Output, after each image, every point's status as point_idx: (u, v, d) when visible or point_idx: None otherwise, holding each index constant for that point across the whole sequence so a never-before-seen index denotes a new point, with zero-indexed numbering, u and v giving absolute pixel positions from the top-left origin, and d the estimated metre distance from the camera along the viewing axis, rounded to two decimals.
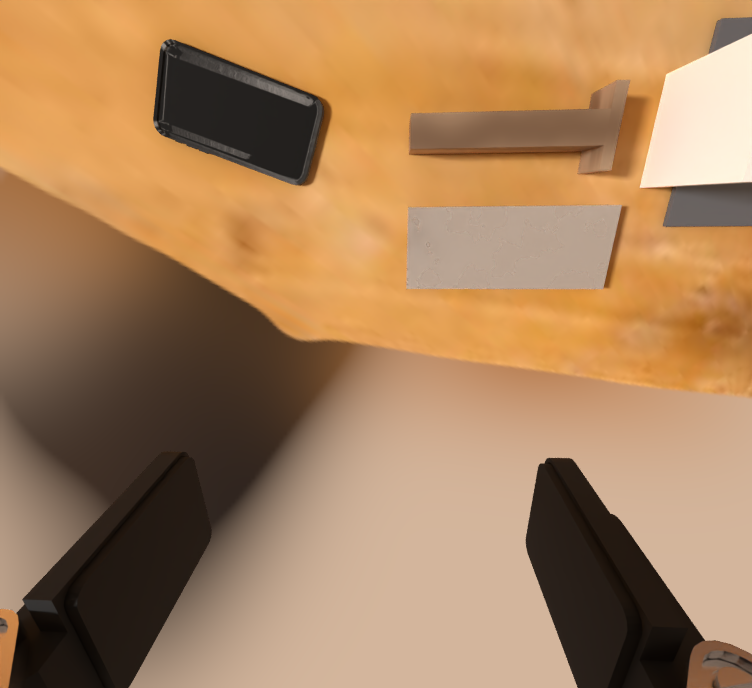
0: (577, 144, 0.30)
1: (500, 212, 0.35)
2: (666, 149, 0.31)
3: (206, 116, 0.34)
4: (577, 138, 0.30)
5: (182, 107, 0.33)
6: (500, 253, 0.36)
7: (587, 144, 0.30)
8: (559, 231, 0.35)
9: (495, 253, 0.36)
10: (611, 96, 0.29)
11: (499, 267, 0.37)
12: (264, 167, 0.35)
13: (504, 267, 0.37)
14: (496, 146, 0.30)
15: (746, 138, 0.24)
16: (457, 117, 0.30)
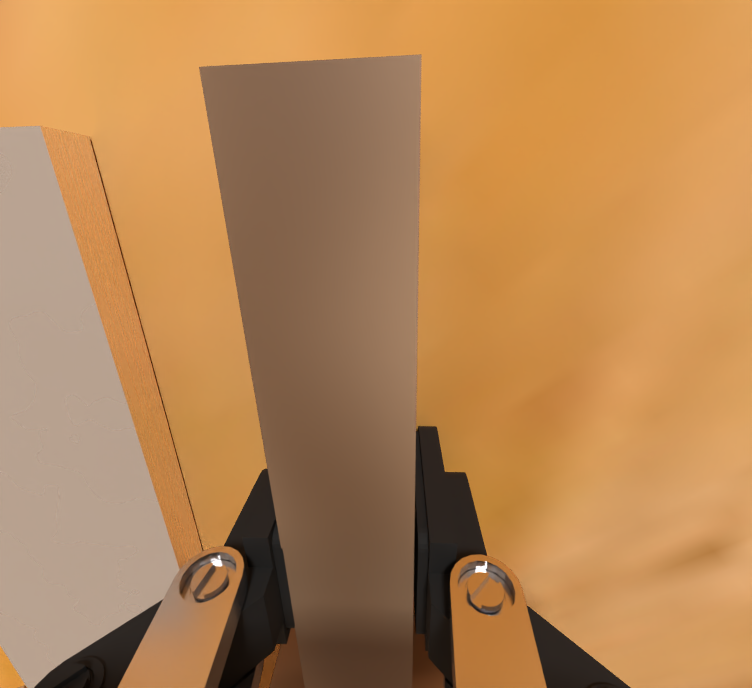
0: None
1: (133, 484, 0.10)
2: None
3: None
4: None
5: None
6: (12, 494, 0.11)
7: None
8: (129, 616, 0.12)
9: (6, 480, 0.10)
10: None
11: None
12: None
13: None
14: (280, 525, 0.07)
15: None
16: (392, 362, 0.06)
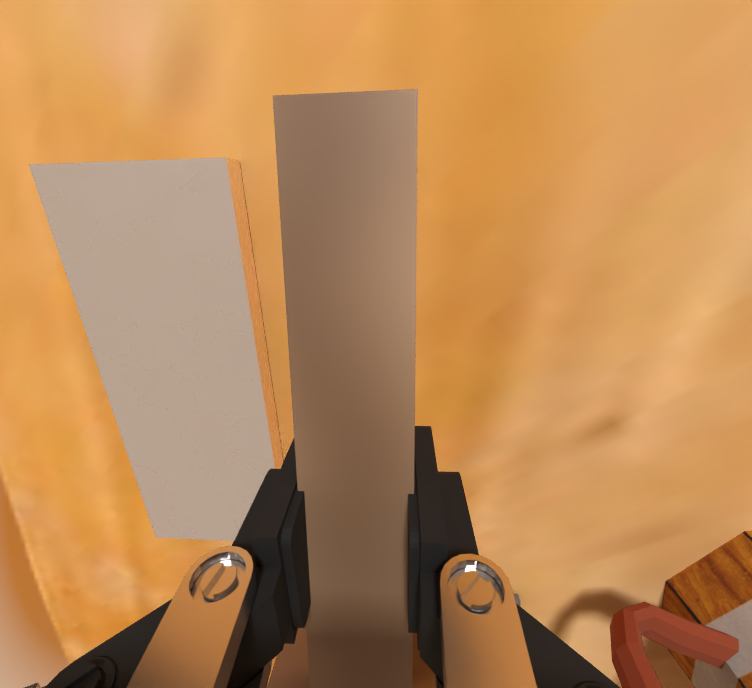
0: None
1: (247, 370, 0.17)
2: None
3: None
4: None
5: None
6: (170, 377, 0.17)
7: None
8: (232, 469, 0.19)
9: (168, 368, 0.17)
10: None
11: (144, 378, 0.17)
12: None
13: (146, 386, 0.18)
14: (298, 461, 0.08)
15: None
16: (397, 306, 0.07)
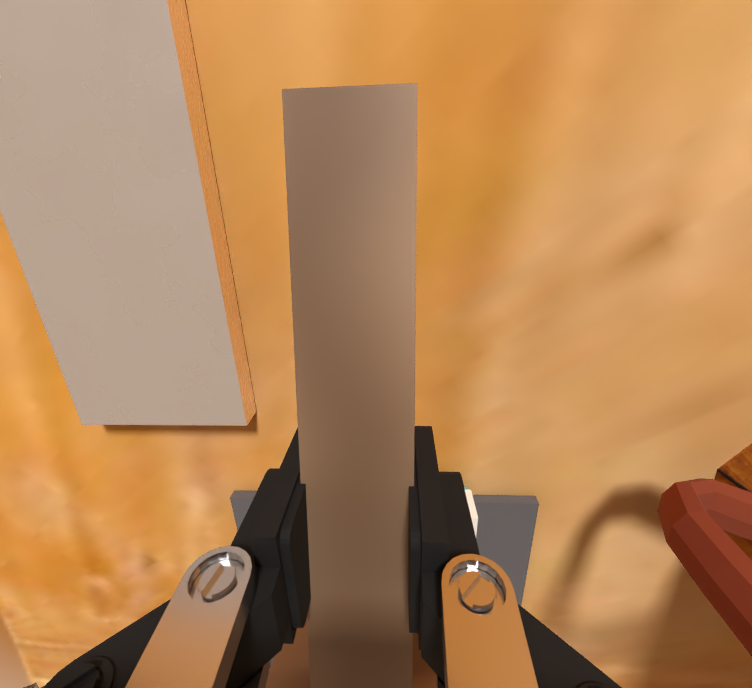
0: (314, 685, 0.09)
1: (179, 154, 0.13)
2: None
3: None
4: (330, 684, 0.09)
5: None
6: (78, 172, 0.13)
7: None
8: (170, 315, 0.15)
9: (74, 157, 0.13)
10: None
11: (43, 175, 0.13)
12: None
13: (47, 189, 0.13)
14: (301, 441, 0.08)
15: None
16: (397, 288, 0.07)
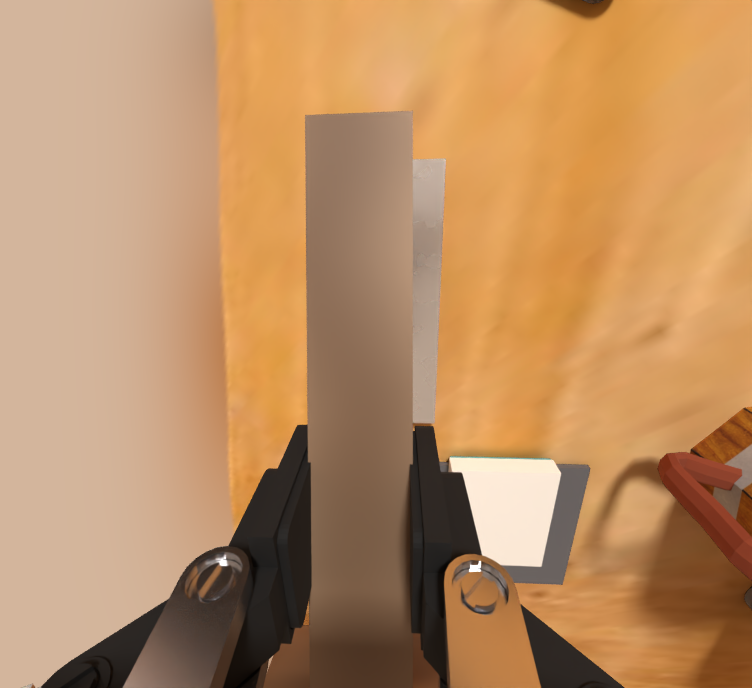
0: (313, 671, 0.09)
1: (432, 293, 0.26)
2: (484, 494, 0.31)
3: None
4: (329, 668, 0.09)
5: None
6: None
7: None
8: None
9: None
10: None
11: None
12: None
13: None
14: (310, 411, 0.09)
15: None
16: (397, 272, 0.09)
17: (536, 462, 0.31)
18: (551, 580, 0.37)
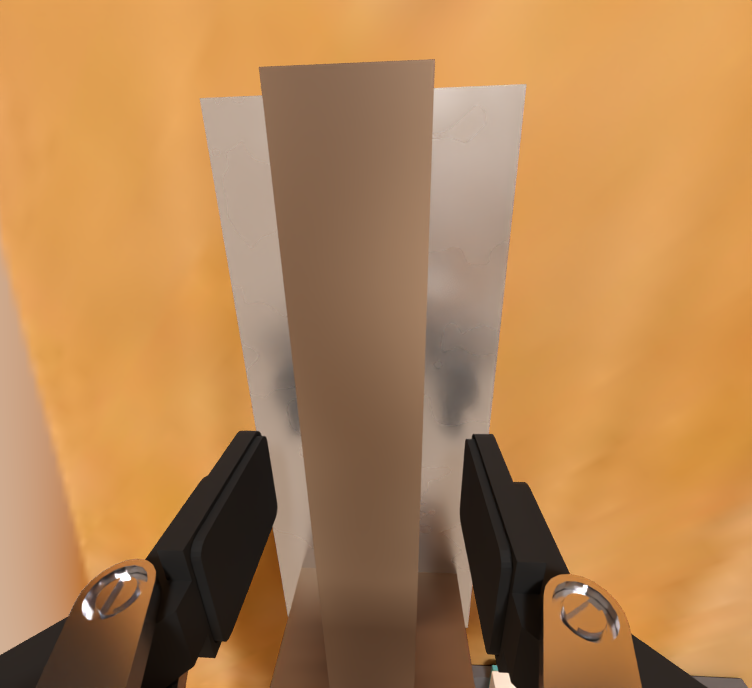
0: (328, 647, 0.10)
1: (473, 407, 0.12)
2: None
3: None
4: (342, 646, 0.10)
5: None
6: None
7: (329, 665, 0.11)
8: None
9: None
10: (443, 679, 0.11)
11: None
12: None
13: None
14: (306, 461, 0.08)
15: None
16: (406, 313, 0.07)
17: None
18: None
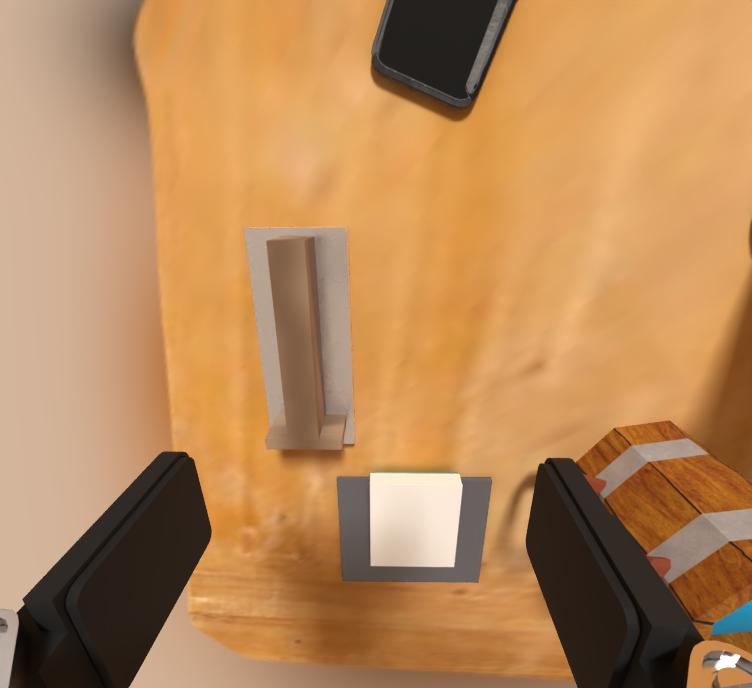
0: (286, 417, 0.29)
1: (343, 335, 0.31)
2: (399, 504, 0.36)
3: None
4: (291, 416, 0.29)
5: None
6: None
7: (287, 425, 0.30)
8: (327, 395, 0.33)
9: None
10: (330, 436, 0.30)
11: None
12: None
13: None
14: (277, 340, 0.27)
15: (395, 561, 0.39)
16: (303, 296, 0.26)
17: (444, 476, 0.36)
18: (468, 579, 0.42)
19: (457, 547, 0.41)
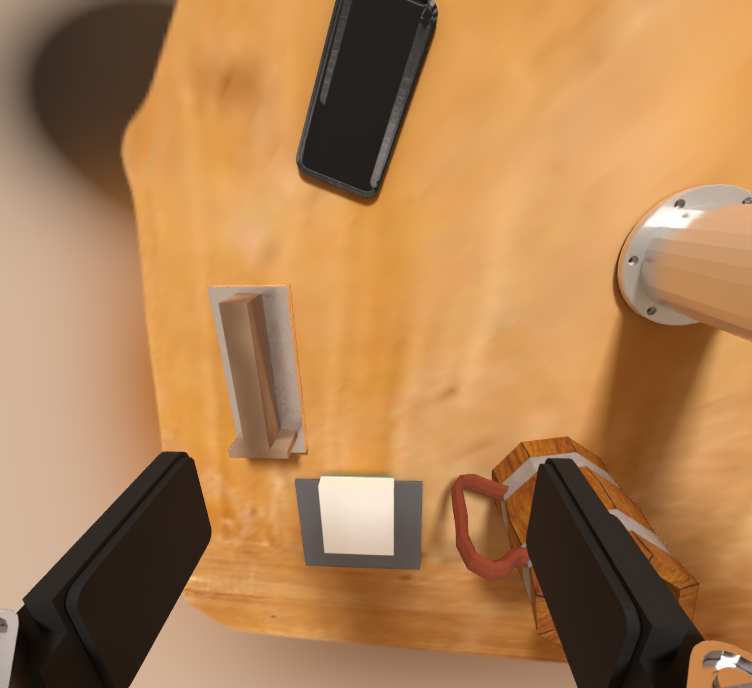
0: (243, 432, 0.37)
1: (290, 367, 0.39)
2: (343, 502, 0.44)
3: (363, 50, 0.29)
4: (247, 432, 0.37)
5: (372, 15, 0.28)
6: None
7: (244, 439, 0.38)
8: (280, 414, 0.41)
9: None
10: (279, 447, 0.38)
11: None
12: (312, 120, 0.31)
13: None
14: (232, 375, 0.35)
15: (344, 549, 0.47)
16: (249, 343, 0.34)
17: (381, 480, 0.44)
18: (411, 566, 0.50)
19: (399, 539, 0.48)
